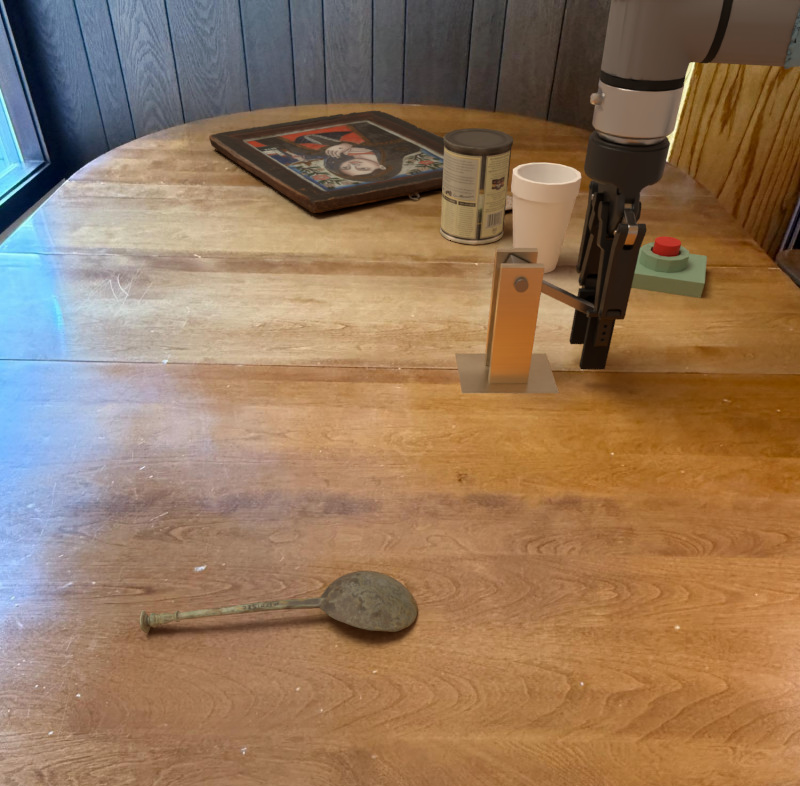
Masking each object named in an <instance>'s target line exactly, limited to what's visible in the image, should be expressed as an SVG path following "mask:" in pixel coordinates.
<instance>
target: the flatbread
mask: <svg viewBox="0 0 800 786" xmlns="http://www.w3.org/2000/svg"><path fill="white" fill-rule="evenodd" d="M511 210H513V195H507V198H506V208H505V212H507V211H511Z"/></svg>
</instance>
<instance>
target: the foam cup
mask: <svg viewBox="0 0 800 786" xmlns="http://www.w3.org/2000/svg"><path fill="white" fill-rule="evenodd" d="M581 182H582V174H581V171H579V170H577V169H576V168H575V167H572V166H568V165H564V164H560V163H553V162H544V161H543V162H529V163H528V162H527V163H523V164H519V165H517V166H516V167H514V168H512V175H511V185H510V192H511V193H512V197H513V209H512V248H537V250H538V257H537V264H543V265H544V274H548V273H551V272H553V271H554V270H555V269H556V267H557V265H558V262H559V258H560V255H561V251H562V249H563V245H564V241H565V238H566V234H567V231H568V227H569V224H570V221H571V217H572V213H573V210H574V207H575V203H576V200H577V197H578V196H579V194H580V189H581Z"/></svg>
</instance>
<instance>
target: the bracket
mask: <svg viewBox="0 0 800 786" xmlns="http://www.w3.org/2000/svg"><path fill="white" fill-rule="evenodd" d="M510 255H513V256H515V257H517V258H519V259H521V260H523V261H525V262H527V263H529V264H506V262H507V260H508V259H509V257H510ZM537 257H538V250H537V248H513V247H496V248H495V253H494V261H493V270H492V271H493V272H492V281H491V292H490V301H489V311H488V321H487V333H486V341H485V351H484V353H483V352H481V353H477V352H475V353H471V352H470V353H464V352H463V353H458V352H457V353H454V356H455V361H456V368H457V373H458V378H459V385H460V392H461V394H463V395H464V394H466V395H467V394H469V395H470V394H471V395H472V394H473V395H474V394H479V395H480V394H481V395H482V394H486V395H487V394H495V395H496V394H497V395H498V394H499V395H501V394H504V395H505V394H560V391H559V388H558V384H557V382H556V379H555V376H554V373H553V370H552V367H551V364H550V361H549V359H548V356H547V353H543V352H542V353H541V352H540V353H539V352H538V353H535V352H533V350H534V342H535V335H536V328H537V322H538V314H539V310H540V309H539V308H540V302H541V294H542V292H541V288H542V282H543V280H544V275H545V273H544V265H543V264H537Z"/></svg>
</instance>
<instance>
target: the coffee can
mask: <svg viewBox="0 0 800 786" xmlns="http://www.w3.org/2000/svg"><path fill="white" fill-rule="evenodd" d="M443 138H444V163H443V186H442V188H441V190H442V191H441V211H440V228H439V233H440V234H441V236H442V237H443V238H444V239H446V240H448V241H450V240H451V242H453V243H458V244H463V245H487V244H490V243H491V244H492V243H494V242H497V241H498V240H500V239H501V238H503V237H504V227H505V219H506V218H505V216H506V211H505V208H506V198H507V196H508V186H509V177H510V166H511V158H512V157H511V156H512V146H513V145H514V138H513V136H511V134H508V133H506V132H503V131H501V130H496V129H490V128H479V127H477V128H475V127H474V128H473V127H471V128H461V129H455V130H452V131H449V132H447V133H445V134H444V136H443Z"/></svg>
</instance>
